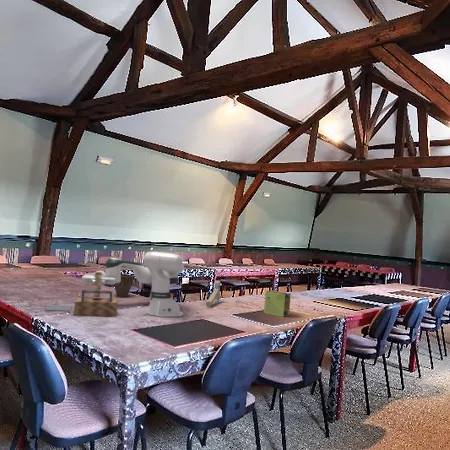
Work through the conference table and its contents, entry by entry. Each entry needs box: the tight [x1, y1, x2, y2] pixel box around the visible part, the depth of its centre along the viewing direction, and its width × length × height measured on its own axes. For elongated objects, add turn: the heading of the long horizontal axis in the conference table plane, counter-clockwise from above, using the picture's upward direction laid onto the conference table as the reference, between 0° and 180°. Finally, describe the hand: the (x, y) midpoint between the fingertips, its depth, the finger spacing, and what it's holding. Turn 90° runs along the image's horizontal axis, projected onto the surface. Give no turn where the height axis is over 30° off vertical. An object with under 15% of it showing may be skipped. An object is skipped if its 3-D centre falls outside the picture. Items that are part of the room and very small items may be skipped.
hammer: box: [205, 280, 221, 308], centre depth 316 cm, size 16×5×30 cm
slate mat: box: [45, 304, 73, 312], centre depth 259 cm, size 14×14×1 cm
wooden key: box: [92, 271, 102, 298], centre depth 258 cm, size 4×4×15 cm
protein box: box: [263, 290, 292, 318], centre depth 298 cm, size 10×15×16 cm
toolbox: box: [73, 289, 118, 317], centre depth 254 cm, size 24×14×14 cm, turn 104°
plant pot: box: [114, 273, 135, 298], centre depth 318 cm, size 15×15×16 cm
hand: (97, 282), depth 257 cm, fingers closed on wooden key, 4 cm apart
